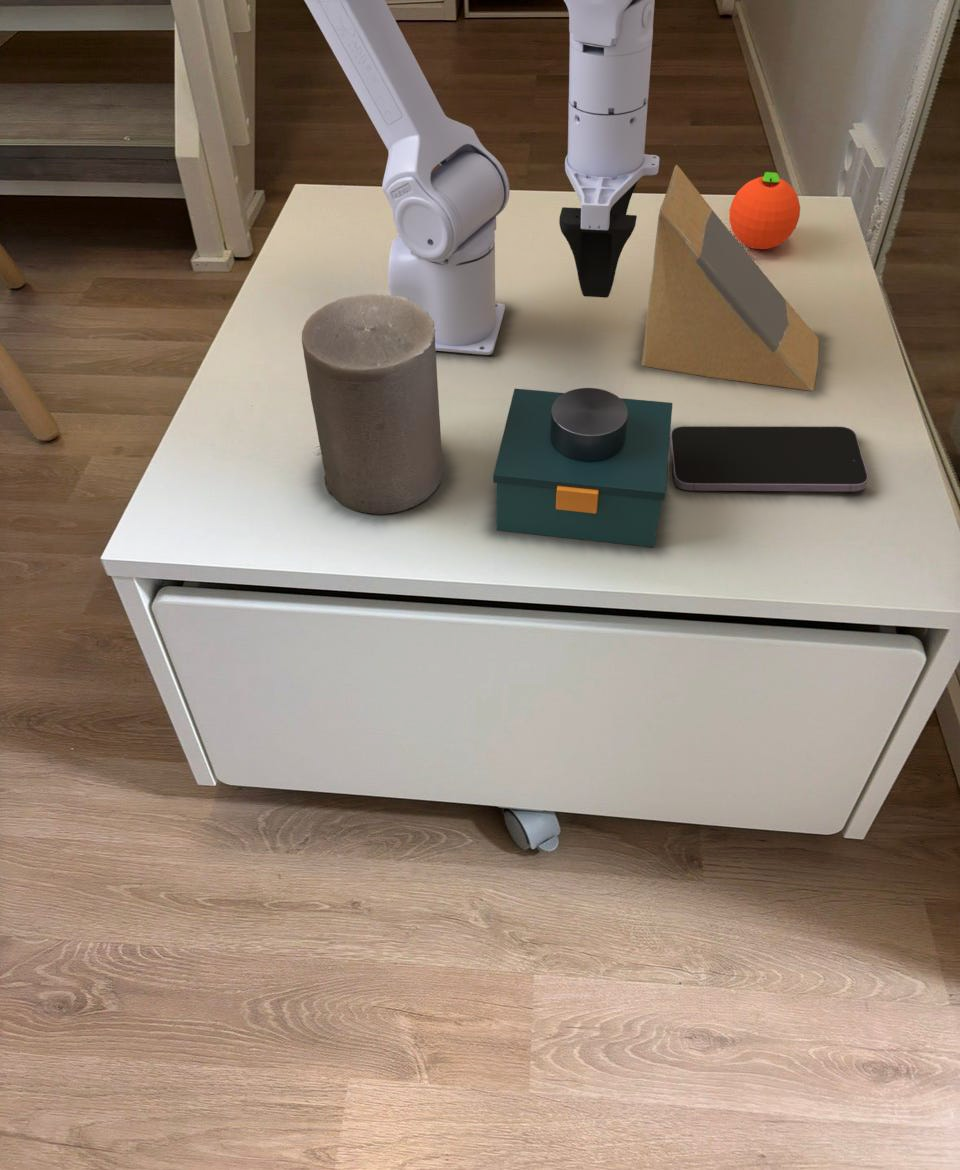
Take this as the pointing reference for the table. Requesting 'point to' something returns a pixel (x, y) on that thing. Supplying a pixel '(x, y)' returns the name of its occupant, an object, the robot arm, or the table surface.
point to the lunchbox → (582, 476)
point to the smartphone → (767, 458)
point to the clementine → (764, 212)
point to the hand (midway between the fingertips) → (600, 269)
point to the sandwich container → (719, 303)
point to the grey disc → (588, 424)
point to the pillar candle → (375, 401)
